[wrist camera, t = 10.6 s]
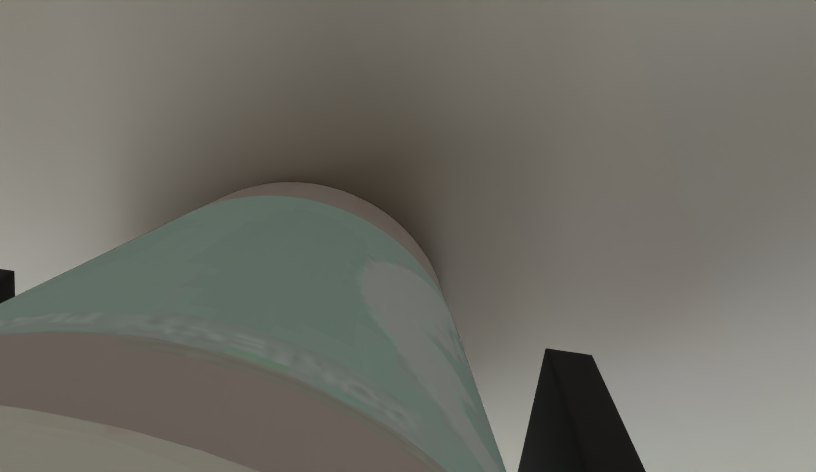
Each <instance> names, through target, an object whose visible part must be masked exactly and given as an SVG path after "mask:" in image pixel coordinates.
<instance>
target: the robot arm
mask: <svg viewBox="0 0 816 472" xmlns="http://www.w3.org/2000/svg"><path fill="white" fill-rule="evenodd" d="M13 297H15V280H14V271H10V270H3V269H0V303H3V302H5V301H7V300H9V299H11V298H13ZM518 472H646V471H645V469H644V467H643V465H642V463H641V461H640V458H639V456H638V454H637V452H636V450H635V448H634V445H633V443H632V441H631V439H630V437H629V435H628V432H627V430H626V428H625V426H624V424H623V422H622V419H621V417H620V415H619V413H618V411H617V409H616V406H615V404H614V402H613V400H612V398H611V396H610V393H609V391H608V389H607V387H606V385H605V383H604V381H603V378H602V376H601V374H600V372H599V370H598V368H597V365H596V363H595V361H594V359H593V357H592V355H587V354H580V353H573V352H566V351H560V350H553V349H546V350H545V354H544V358H543V363H542V367H541V372H540V376H539V380H538V385H537V389H536V394H535V398H534V403H533V407H532V411H531V416H530V420H529V425H528V429H527V434H526V438H525V442H524V447H523V451H522V456H521V460H520V464H519V469H518Z"/></svg>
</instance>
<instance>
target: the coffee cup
mask: <svg viewBox="0 0 816 472" xmlns="http://www.w3.org/2000/svg"><path fill="white" fill-rule="evenodd" d="M0 472H506V470H505V467H504V464H503V461H502V458H501V455H500V453H499V450H498V447H497V444H496V441H495V438H494V435H493V433H492V430H491V427H490V424H489V421H488V418H487V415H486V413H485V410H484V407H483V404H482V401H481V398H480V395H479V393H478V390H477V387H476V384H475V381H474V378H473V375H472V373H471V370H470V367H469V364H468V361H467V358H466V355H465V353H464V350H463V347H462V344H461V341H460V338H459V335H458V333H457V330H456V327H455V324H454V321H453V318H452V316H451V313H450V311H449V308H448V305H447V302H446V300H445V297H444V294H443V292H442V289H441V286H440V283H439V281H438V278H437V276H436V273H435V271H434V269H433V267H432V265H431V263H430V262H429V260H428V258H427V257H426V255H425V253H424V252H423V250H422V249H421V248H420V246H419V245H418V244H417V242H416V241H415V240H414V239H413V238H412V236H411V235H410V234H409V233H408V232H407V231H406V230H405V229H404V228H403V227H402V226H401V225H400V224H399V223H397V222H396V221H395V220H394V219H393V218H392V217H390V216H389V215H388V214H386V213H385V212H383V211H382V210H380V209H379V208H377V207H376V206H374V205H372V204H371V203H369V202H367V201H365V200H363V199H361V198H359V197H357V196H355V195H352V194H350V193H347V192H344V191H342V190H338V189H335V188H332V187H327V186H323V185H318V184H311V183H301V182H279V183H269V184H262V185H257V186H253V187H249V188H245V189H242V190H239V191H236V192H234V193H231V194H228V195H226V196H224V197H222V198H220V199H218V200H215V201H213V202H211V203H209V204H207V205H205V206H203V207H200V208H198V209H196V210H194V211H191V212H189V213H187V214H185V215H183V216H181V217H179V218H177V219H175V220H173V221H171V222H169V223H167V224H164V225H162V226H160V227H158V228H156V229H154V230H152V231H150V232H148V233H146V234H144V235H142V236H140V237H137V238H135V239H133V240H131V241H129V242H127V243H125V244H123V245H121V246H119V247H117V248H115V249H113V250H110V251H108V252H106V253H104V254H102V255H100V256H98V257H96V258H94V259H92V260H90V261H88V262H86V263H84V264H81V265H79V266H77V267H75V268H73V269H71V270H69V271H67V272H65V273H63V274H61V275H59V276H57V277H54V278H52V279H50V280H48V281H46V282H44V283H42V284H40V285H38V286H36V287H34V288H32V289H30V290H27V291H25V292H23V293H21V294H19V295H17V296H15V297H13V298H11V299H9V300H7V301H5V302H3V303H0Z"/></svg>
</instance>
